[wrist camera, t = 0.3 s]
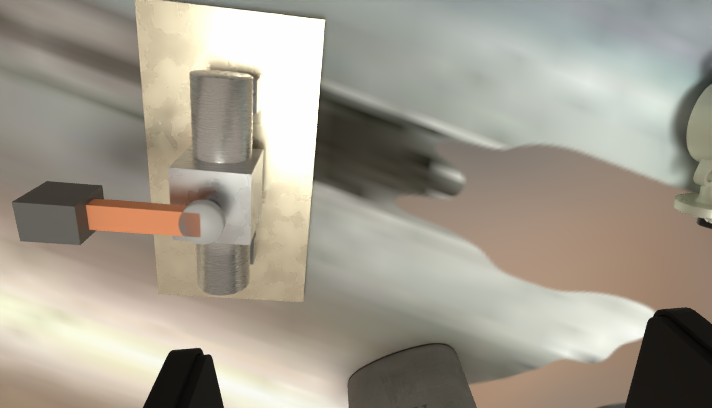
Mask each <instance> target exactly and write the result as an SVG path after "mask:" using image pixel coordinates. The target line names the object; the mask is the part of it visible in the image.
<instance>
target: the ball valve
mask: <svg viewBox="0 0 712 408" xmlns="http://www.w3.org/2000/svg"><path fill="white" fill-rule="evenodd" d="M135 8H136V20H137V33H138V45H139V58H140V70H141V82H142V95H143V107H144V119H145V132H146V144H147V156H148V169H149V181H150V193H151V203H158V204H172V205H185V206H188V205H189V204H190V203H191V202H193V201H196V200H208V201H211V202H214V203H215V204H217V205H218V206H219V207H220V208H221V209H222V210H223V212H224V214H225V218H226V223H225V226H224V229H223V231H222V233H221V235H220V236H219V238H218V239H217V240H215V241H214V242H212V243H209V244H196V243H193V242H191V241H189V240H187V239H186V238H185V237H184V236H172V235H158V234H154V243H155V255H156V267H157V280H158V292H159V294H168V295H186V296H204V297H222V298H240V299H258V300H276V301H294V302H303V298H304V285H305V272H306V259H307V246H308V233H309V220H310V207H311V194H312V181H313V168H314V155H315V142H316V129H317V116H318V103H319V90H320V77H321V64H322V52H323V39H324V26H325V20H322V19H314V18H305V17H297V16H289V15H280V14H272V13H264V12H256V11H247V10H239V9H231V8H222V7H214V6H206V5H198V4H189V3H181V2H173V1H164V0H135Z"/></svg>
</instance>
